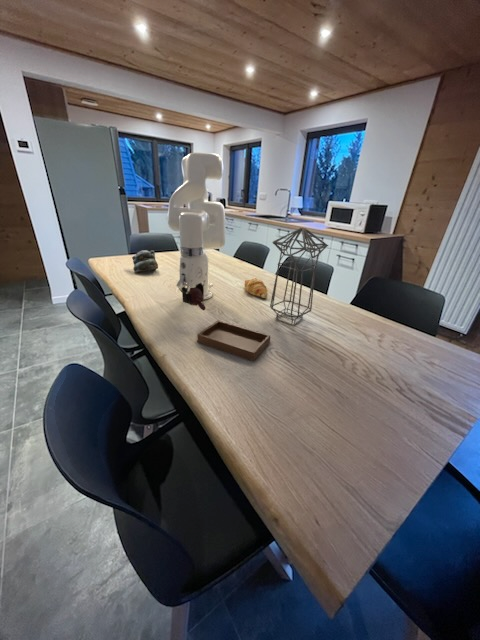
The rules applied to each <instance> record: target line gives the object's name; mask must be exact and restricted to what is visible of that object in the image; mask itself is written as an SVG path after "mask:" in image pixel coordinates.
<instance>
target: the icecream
mask: <svg viewBox="0 0 480 640" xmlns="http://www.w3.org/2000/svg"><path fill="white" fill-rule="evenodd" d="M185 288H186V289H187V287H185ZM189 293H190V296H191V303H190V304H189V305H190V306H194V307H195V306H198V307H199V309H200V310H202V311H205V310H206V306H205V304H204V303H203V302H204V300H203V294H202V292H201V290H200V289H199V288H197V287H194V288H190V291H189Z"/></svg>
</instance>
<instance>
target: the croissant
mask: <svg viewBox="0 0 480 640" xmlns="http://www.w3.org/2000/svg"><path fill="white" fill-rule="evenodd" d="M244 289H245V291H246V292H247V293H248V294H250V295H253V296H255V297H259V298H263V299H266V298H268V288H267V286H266V285H265V283H264V282H263V280H261V279H259V278H252V279H248V280H247V279H246V280H245V281H244Z"/></svg>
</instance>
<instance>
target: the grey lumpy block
mask: <svg viewBox="0 0 480 640" xmlns="http://www.w3.org/2000/svg"><path fill="white" fill-rule="evenodd" d="M131 258H132V264H133V268H132V269H133V271H134V273H136V274H137V273H139V272H145V271H156V270H158V269H159V264H158V262H157V260H156V253H155V251H154V250H151V249H150V248H147V249H146V250H140V251H137V252H136V253H135V255H133V256H131Z"/></svg>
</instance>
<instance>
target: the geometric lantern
mask: <svg viewBox="0 0 480 640" xmlns="http://www.w3.org/2000/svg"><path fill="white" fill-rule="evenodd" d="M300 234H302V235H301V236H302V240H300V239H298V238H299V237H300ZM312 237H313V238H314V239H316V240H317V241H318V242H320V243H316V242H315V241H314V240H313V238H312ZM285 238H286V239H285ZM281 240H283V241H281ZM292 241H293V242H292ZM291 243H292V244H291ZM296 243H297V244H298V245H299V246H300V247H294V244H296ZM301 243H302V244H303V245H302V244H301ZM272 245H274V246H275V247H276V248H277V250H278V251H280V254H279V259H278V263H277V268H276V274H275V280H274V285H273V289H272V294H271V300H270V304H269V308H270V309H271V310H272V311H273V312H274V313H275V314H276V317H275V319H276V320H277V321H279V322H282V323H285V324H288V325H290V326H295V325H297V324H298V323H300V322H301V321H302V320H303V318H304V315H307V314H308V313H311V312H312V309H313V308H312V307H313V297H314V287H315V277H316V269H317V266H318V261H319V257H320V254H321V253H322V252H324V250H326V248H327V247H329V244H327V243H326V242H324V241H323V240H322V239H320V237H318V236H316V235H315V234H313V232H311V231H310V230H309V229H307V228H306V227H299V228H298V229H295V230H294V231H291V232H289V233H288V234H285V235H284V236H281V237H279V238H277V239H275V240H273V241H272ZM288 249H289V252H288ZM292 250H298V251H295V252H292ZM316 251H318V252H317V253H316ZM301 252H302V253H301ZM306 252H307V253H309V254H310V257H309V258H308V259H307V261H306V262H301V261H299V260H301V258H302V257H303V256H304V254H305V253H306ZM299 253H301V254H300V256H299V257H298V258H297V260H295V258H294V256H295V255H297V254H299ZM284 256H286V257H288V258H289V260H288V261H284V262H281V261H282V259H283V257H284ZM313 259H316V260H315V264H314V260H313ZM310 260H311V262H312V264H311V263H308V262H309V261H310ZM288 263H290V264H289V266H285V265H284V264H288ZM297 263H298V264H302V265H303V266H302V267H301V269H300V268H299V267H298V264H297ZM293 264H294V268H293V267H292V265H293ZM306 265H307V266H310V267H311V268H307V269H304V268H305V266H306ZM280 267H282V268H285V269H289V270H288V275H287V279H286V285H285V289H284V295H283V300H281V301H278V302H276V303H275V298H276V297H275V296H276V291H277V290H276V289H277V284H278V279H279V278H278V277H279V271H280ZM303 269H304V270H303ZM291 270H293V275H292V283H291V289H290V295H289V300H286V295H287V290H288V285H289V281H290V275H291ZM311 270H312V276H311V283H310V290H309V297H308V302H307V305H304V304H301V300H302V290H303V289H302V288H303V280H304V272H307V271H311ZM299 272H301V277H300V286H299V298H298V302H295V296H296V290H297V283H298V276H299ZM286 302H287V303H288V304H287V307H286ZM282 303H283V306H284V308H283V309H282V310H278V309H276V308H274V306H277V305H279V304H282ZM290 304H291V308H290ZM294 304H295V305H297V306H298V307H297V311H296V310H294ZM301 307H304V308H306V309H305V310H303V311H302V312H300V309H301ZM288 311H290V312H288ZM293 312H294V313H297V315H296V314H293ZM279 317H282V318H285V319H288V320H290V321H291V323H289V322H286V321H284V320H282V319H279ZM293 318H294V319H293ZM299 318H300V319H299ZM298 319H299V320H298ZM296 320H298V321H296Z"/></svg>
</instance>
